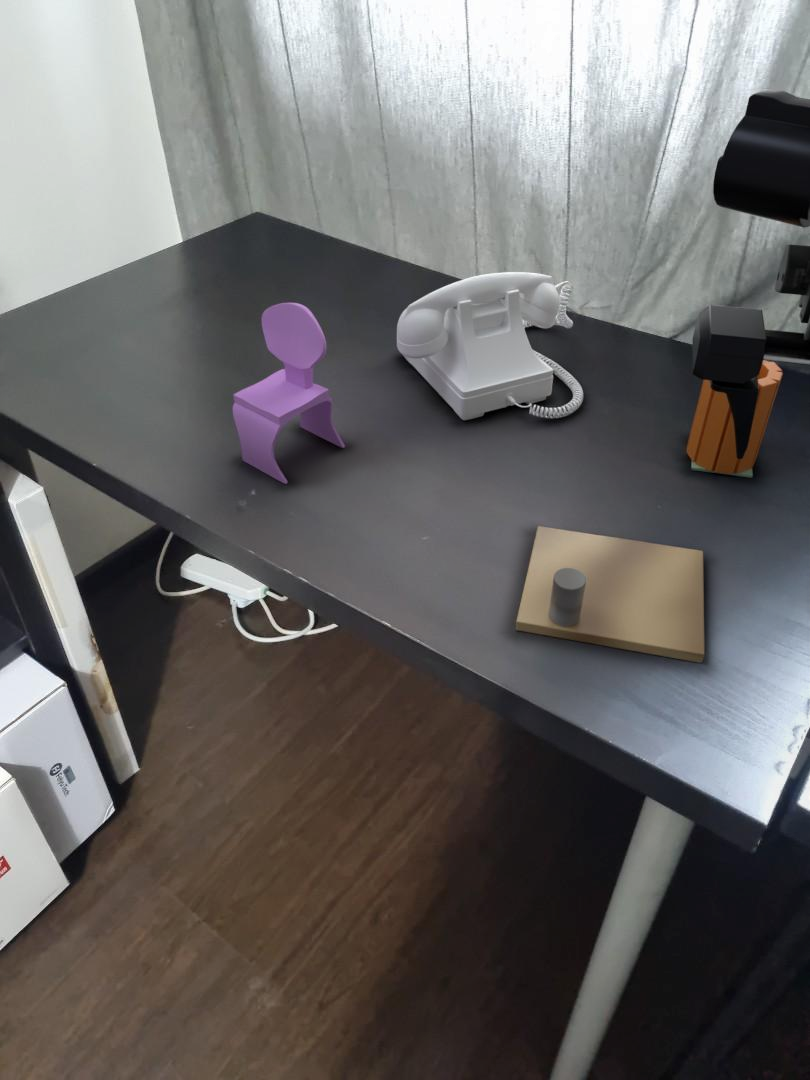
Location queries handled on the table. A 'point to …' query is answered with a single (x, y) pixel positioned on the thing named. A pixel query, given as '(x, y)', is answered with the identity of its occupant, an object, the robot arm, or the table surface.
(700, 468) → the grey flat piece
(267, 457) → the toy chair
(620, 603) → the ring board
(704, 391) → the pen holder
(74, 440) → the table surface
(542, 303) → the telephone
